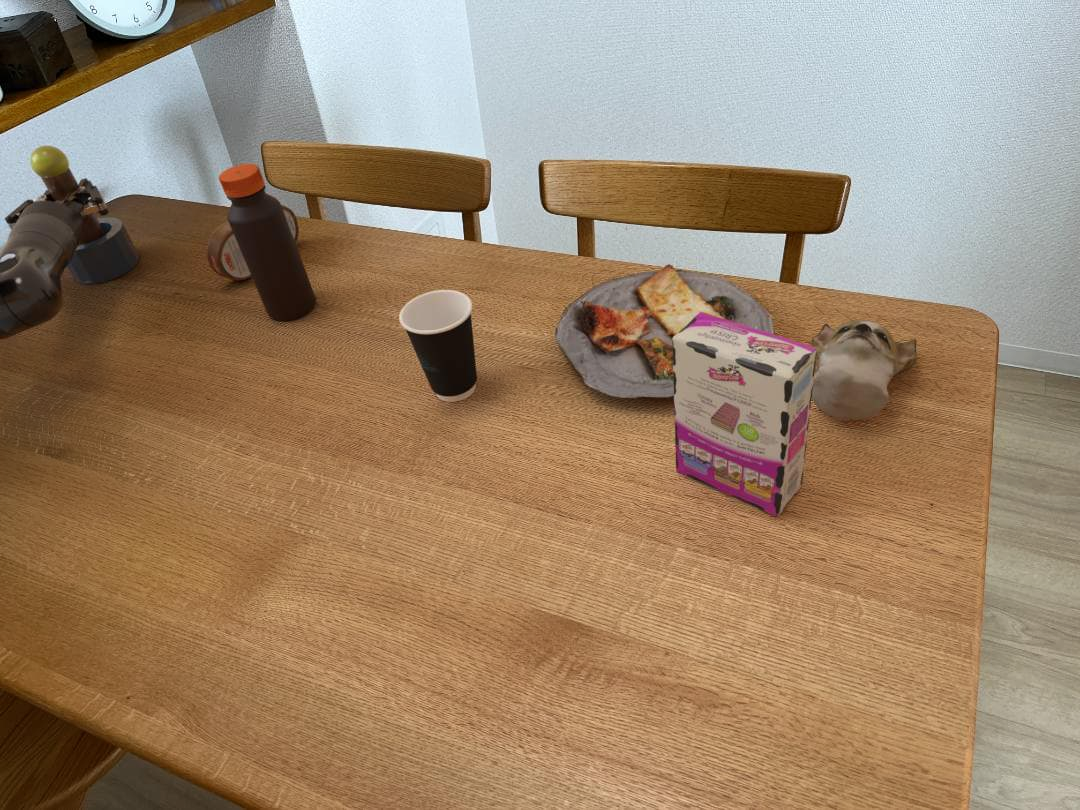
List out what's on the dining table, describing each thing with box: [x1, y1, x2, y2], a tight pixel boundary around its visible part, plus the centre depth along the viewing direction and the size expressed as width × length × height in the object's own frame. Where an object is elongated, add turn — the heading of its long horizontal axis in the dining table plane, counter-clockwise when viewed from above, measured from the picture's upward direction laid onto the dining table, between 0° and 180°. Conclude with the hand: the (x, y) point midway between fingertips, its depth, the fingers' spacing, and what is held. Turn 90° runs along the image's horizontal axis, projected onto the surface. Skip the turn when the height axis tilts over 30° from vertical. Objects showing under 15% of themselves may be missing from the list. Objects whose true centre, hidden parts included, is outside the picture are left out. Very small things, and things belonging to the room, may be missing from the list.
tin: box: [206, 204, 300, 282], centre depth 119 cm, size 15×3×8 cm, turn 144°
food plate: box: [554, 263, 776, 399], centre depth 94 cm, size 25×23×4 cm
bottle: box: [218, 163, 317, 322], centre depth 105 cm, size 7×7×20 cm
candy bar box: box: [672, 312, 817, 518], centre depth 72 cm, size 11×5×16 cm, turn 50°
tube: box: [66, 217, 140, 285], centre depth 126 cm, size 10×10×6 cm
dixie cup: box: [398, 289, 478, 403], centre depth 90 cm, size 8×8×11 cm
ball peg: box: [29, 145, 105, 245], centre depth 120 cm, size 5×5×16 cm
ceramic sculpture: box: [810, 319, 918, 422], centre depth 82 cm, size 11×9×15 cm
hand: (71, 188), depth 122 cm, fingers closed on ball peg, 4 cm apart
